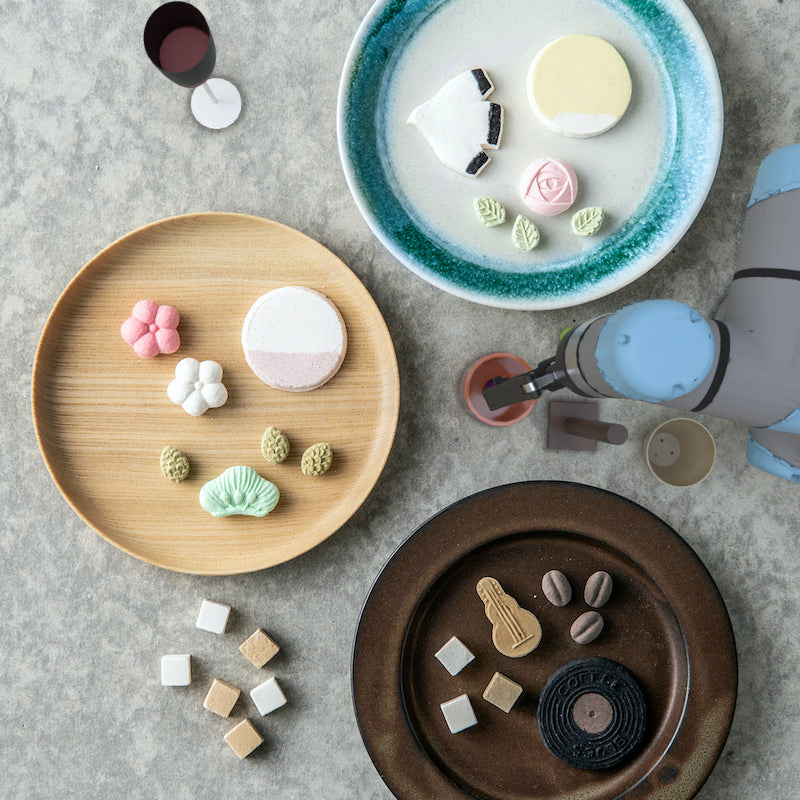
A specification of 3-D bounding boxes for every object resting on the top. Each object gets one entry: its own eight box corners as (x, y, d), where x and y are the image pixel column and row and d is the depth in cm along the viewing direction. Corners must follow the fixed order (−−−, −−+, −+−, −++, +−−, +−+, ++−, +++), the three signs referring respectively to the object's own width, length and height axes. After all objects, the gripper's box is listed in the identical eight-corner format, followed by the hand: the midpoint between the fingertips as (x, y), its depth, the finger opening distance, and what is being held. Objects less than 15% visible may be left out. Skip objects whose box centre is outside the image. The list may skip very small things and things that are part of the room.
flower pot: (687, 487, 108) (709, 494, 101) (623, 474, 108) (640, 480, 101) (701, 423, 108) (723, 425, 101) (637, 410, 108) (654, 411, 101)
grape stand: (595, 403, 108) (647, 406, 86) (593, 449, 108) (645, 464, 86) (549, 401, 108) (589, 404, 86) (547, 448, 108) (587, 462, 86)
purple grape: (505, 378, 107) (509, 378, 104) (504, 401, 107) (508, 401, 104) (482, 377, 107) (486, 377, 104) (481, 400, 107) (485, 401, 104)
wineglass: (248, 81, 107) (216, 9, 87) (235, 138, 107) (200, 79, 87) (196, 68, 106) (152, -7, 86) (183, 125, 106) (136, 64, 86)
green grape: (579, 328, 108) (585, 326, 104) (578, 351, 108) (585, 349, 104) (557, 327, 108) (562, 325, 104) (556, 350, 108) (561, 348, 104)
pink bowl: (528, 357, 108) (539, 354, 100) (525, 424, 108) (536, 427, 100) (460, 354, 108) (466, 351, 100) (458, 422, 108) (463, 424, 100)
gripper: (498, 450, 67) (472, 436, 88) (741, 339, 67) (657, 352, 88) (465, 376, 66) (447, 380, 88) (709, 266, 67) (632, 296, 88)
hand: (552, 366), depth 88 cm, fingers open, 13 cm apart
